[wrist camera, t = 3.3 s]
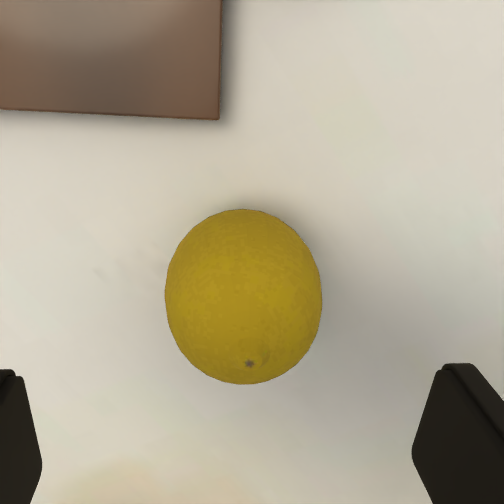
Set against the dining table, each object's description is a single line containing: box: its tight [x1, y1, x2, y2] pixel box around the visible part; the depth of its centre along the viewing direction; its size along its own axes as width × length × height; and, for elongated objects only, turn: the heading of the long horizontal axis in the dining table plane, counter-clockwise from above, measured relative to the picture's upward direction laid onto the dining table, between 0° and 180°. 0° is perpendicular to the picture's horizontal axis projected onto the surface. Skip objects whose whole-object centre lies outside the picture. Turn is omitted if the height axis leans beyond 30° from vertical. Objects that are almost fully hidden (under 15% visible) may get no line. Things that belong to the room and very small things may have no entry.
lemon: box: [165, 209, 322, 384], centre depth 16 cm, size 6×6×8 cm
